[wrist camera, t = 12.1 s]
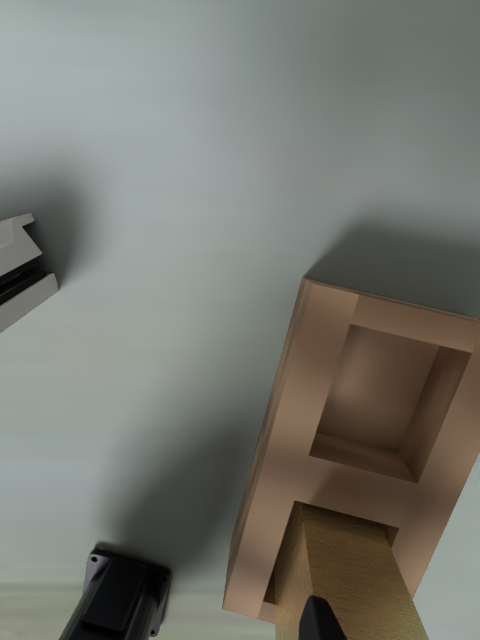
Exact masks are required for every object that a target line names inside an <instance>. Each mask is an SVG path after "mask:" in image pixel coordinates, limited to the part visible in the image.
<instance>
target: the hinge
mask: <svg viewBox="0 0 480 640" xmlns="http://www.w3.org/2000/svg"><path fill="white" fill-rule="evenodd" d="M33 221H35V220H34V218H33V216H32V214H31V213H28V214H24V215H20V216H16V217H13V218H9V219H5V220H1V221H0V333H1V332H3V331H4V330H5V329H7V328H8V327H9V326H11V325H12V324H14V323H15V322H16V321H18V320H19V319H20V318H22V317H23V316H25V315H26V314H27V313H29V312H30V311H32V310H33V309H34V308H36V307H37V306H38V305H40V304H41V303H43V302H44V301H45V300H47V299H48V298H49V297H51V296H52V295H54V294H55V293H56V292H58V283H57V280H56V277H55V274H54V273H51V274H46V272H45V271H44V269H43V270H39V271H35V272H31V273H26V274H22V275H18V274H20V273H22V272H24V271H26V270H27V269H29V268H31V267H33V266H34V265H36V264H38V263H39V261H38V259H37V256H39V255H41V254H43V253H42V252H41V251H40V249H39V248H38V247H37V246H36V244H35V243H34V242H33V240H32V239H31V238H30V237H29V235H28V234H27V233H26V232H25V230H24V229H23V228H22V226H24V225H26V224H29V223H31V222H33Z"/></svg>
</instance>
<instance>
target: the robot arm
mask: <svg viewBox="0 0 480 640" xmlns="http://www.w3.org/2000/svg"><path fill="white" fill-rule="evenodd" d="M170 579H171V571H170V570H169V569H166V568H163V567H159V566H156V565H152V564H148V563H145V562H141V561H138V560H134V559H130V558H127V557H123V556H120V555H116V554H112V553H109V552H105V551H101V550H98V549H94V550H92V551H91V553H90V555H89V557H88V561H87V568H86V575H85V582H84V588H83V595H82V598H81V599H80V601H79V603H78V605H77V607H76V609H75V610H74V612H73V614H72V616H71V618H70V620H69V621H68V623H67V625H66V627H65V629H64V631H63V633H62V634H61V636H60V638H59V640H148V639H149V636H151V637H155V636H157V634H158V631H159V628H160V624H161V619H162V615H163V610H164V606H165V601H166V597H167V593H168V588H169V584H170ZM299 640H348V639H347V637H346V635H345V633H344V632H343V630H342V628H341V626H340V624H339V622H338V620H337V618H336V616H335V614H334V612H333V610H332V608H331V606H330V604H329V603H328V601H327V600H326V599H324V598H322V597H318V596H315V595H310V596H309V597H308V599H307V601H306V604H305V607H304V610H303V612H302V615H301V618H300V622H299Z"/></svg>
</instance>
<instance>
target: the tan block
mask: <svg viewBox="0 0 480 640" xmlns="http://www.w3.org/2000/svg"><path fill="white" fill-rule="evenodd" d="M274 581H275V630H276V640H299V622H300V618H301V615H302V612H303V610H304V607H305V604H306V601H307V599H308V597H309V596H310V595H315V596H318V597H322V598H324V599H326V600H327V601H328V603H329V604H330V606H331V608H332V610H333V612H334V614H335V616H336V618H337V620H338V622H339V624H340V626H341V628H342V630H343V632H344V633H345V635H346V637H347V639H348V640H429V639H428V636H427V634H426V632H425V629H424V627H423V624H422V622H421V620H420V617H419V615H418V613H417V610H416V608H415V605H414V603H413V601H412V598H411V596H410V593H409V591H408V589H407V586H406V584H405V582H404V579H403V577H402V574H401V572H400V570H399V567H398V565H397V562H396V560H395V558H394V555H393V553H392V550H391V548H390V546H389V543H388V541H387V539H386V536H385V534H384V531H383V529H382V527H381V524H380V523H379V522H375V521H371V520H368V519H364V518H360V517H356V516H352V515H349V514H345V513H341V512H337V511H333V510H330V509H326V508H322V507H318V506H314V505H311V504H307V503H303V502H299V501H295V500H294V503H293V506H292V510H291V513H290V516H289V519H288V522H287V525H286V529H285V532H284V535H283V538H282V541H281V545H280V548H279V551H278V554H277V557H276V560H275V564H274Z"/></svg>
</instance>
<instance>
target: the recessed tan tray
mask: <svg viewBox="0 0 480 640" xmlns="http://www.w3.org/2000/svg"><path fill="white" fill-rule="evenodd" d="M479 452H480V320H479V319H476V318H473V317H470V316H466V315H461V314H457V313H453V312H448V311H444V310H440V309H436V308H431V307H427V306H423V305H419V304H414V303H410V302H406V301H402V300H397V299H393V298H389V297H385V296H380V295H376V294H372V293H368V292H363V291H359V290H355V289H351V288H346V287H342V286H338V285H334V284H329V283H325V282H321V281H317V280H312V279H308V278H304V277H302V281H301V285H300V288H299V292H298V296H297V299H296V303H295V307H294V311H293V314H292V318H291V322H290V325H289V329H288V333H287V336H286V340H285V344H284V347H283V351H282V355H281V359H280V362H279V366H278V370H277V373H276V377H275V381H274V384H273V388H272V392H271V395H270V399H269V403H268V407H267V410H266V414H265V418H264V421H263V425H262V429H261V432H260V436H259V440H258V443H257V447H256V451H255V455H254V458H253V462H252V466H251V469H250V473H249V477H248V480H247V484H246V488H245V491H244V495H243V499H242V503H241V506H240V510H239V514H238V517H237V521H236V525H235V528H234V532H233V536H232V539H231V545H230V552H229V560H228V568H227V576H226V583H225V591H224V599H223V606H222V609H223V610H227V611H230V612H234V613H237V614H241V615H245V616H248V617H252V618H255V619H259V620H262V621H266V622H270V623H273V624H275V581H274V564H275V560H276V557H277V554H278V551H279V548H280V545H281V541H282V538H283V535H284V532H285V529H286V525H287V522H288V519H289V516H290V513H291V510H292V506H293V503H294V500H295V501H299V502H303V503H307V504H311V505H314V506H318V507H322V508H326V509H330V510H333V511H337V512H341V513H345V514H349V515H352V516H356V517H360V518H364V519H368V520H371V521H375V522H379V523H380V524H381V527H382V529H383V531H384V534H385V536H386V539H387V541H388V543H389V546H390V548H391V550H392V553H393V555H394V558H395V560H396V562H397V565H398V567H399V570H400V572H401V574H402V577H403V579H404V582H405V584H406V586H407V589H408V591H409V593H410V596H411V598H412V599H413V597H414V595H415V593H416V591H417V588H418V586H419V584H420V582H421V580H422V577H423V575H424V573H425V571H426V569H427V566H428V564H429V562H430V560H431V557H432V555H433V553H434V551H435V549H436V546H437V544H438V542H439V540H440V538H441V535H442V533H443V531H444V529H445V527H446V524H447V522H448V520H449V518H450V516H451V513H452V511H453V509H454V507H455V505H456V502H457V500H458V498H459V496H460V494H461V491H462V489H463V487H464V485H465V483H466V480H467V478H468V476H469V474H470V472H471V469H472V467H473V465H474V463H475V460H476V458H477V456H478V454H479Z"/></svg>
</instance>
